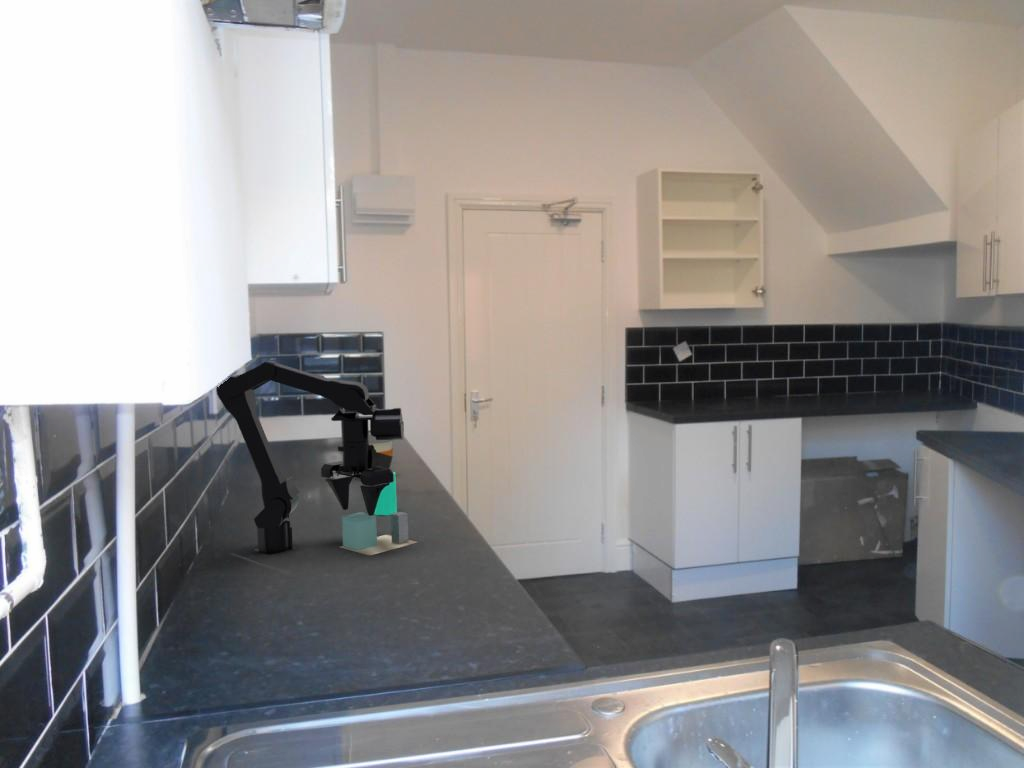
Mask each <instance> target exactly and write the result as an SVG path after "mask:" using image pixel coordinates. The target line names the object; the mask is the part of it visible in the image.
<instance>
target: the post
mask: <svg viewBox="0 0 1024 768" xmlns="http://www.w3.org/2000/svg"><path fill="white" fill-rule="evenodd" d="M408 519H409V517H408V513H407V512H402V511H397V513H392V514H391V515H390V526H391V527H390V529H391V535H390V536H392V543H395V544H399V545H400V544H403V543H407V542H409V540H410V539H409V521H408Z"/></svg>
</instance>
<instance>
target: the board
mask: <svg viewBox="0 0 1024 768" xmlns="http://www.w3.org/2000/svg"><path fill="white" fill-rule="evenodd" d="M416 543H418V541H414V540H411V539H409V542H407V543H403V544H400V545H399V544H395V543H392V535H390V534H383V535H380V536H377V545H376V546H373V547H369V548H365V549H361V550H358V551H357V550H354V549H350V548H346V547H343V545H341V546H339V548H341V549H345V550H349V551H352V552H355V553H359V554H363V555H366V556H373V555H377V554H381V553H385V552H388V551H392V550H396V549H399V548H403V547H407V546H410V545H413V544H416Z"/></svg>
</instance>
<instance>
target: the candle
mask: <svg viewBox="0 0 1024 768" xmlns="http://www.w3.org/2000/svg"><path fill="white" fill-rule="evenodd" d="M393 473H394V482H390V484H389V486H386V487H385V488H384V489H383V490H382V491H381V494H380V496H379V499H378V502H377V506H376V509H375V512H374V514H375V515H376V516H378V515H386V516H391V514H392V513H397V512H398V506H397V505H398V502H397V498H398V497H397V477H396V472H395V471H393Z"/></svg>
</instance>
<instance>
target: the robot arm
mask: <svg viewBox="0 0 1024 768" xmlns="http://www.w3.org/2000/svg"><path fill="white" fill-rule="evenodd" d="M230 376H231V377H230ZM230 376H229V377H230V378H229V379H228V380H227V381H225V382H224V383H223V384H221V385H220V386H219V387H217V386H216V395H217V398H218V399H219V401H220V402H221V404H222V405H223V407H224V408H225V409H226V411H227V412H228V413H229V414H230V415H231V416H232V418H233V419H234V420H235V422H236V423H237V425H238V429H239V430H240V433H241V436H242V438H243V441H244V443H245V445H246V448H247V450H248V452H249V455H250V457H251V458H250V459H251V461H252V463H253V465H254V467H255V469H256V472H257V475H258V477H259V479H260V483H261V486H260V487H261V498H262V502H263V507H264V508H263V509H262V510H261V511H260V512H259V513H258V514H257V515H256V516H255V517H254V518H253V521H254V523H255V525H256V533H257V535H256V536H257V548H254V551H256V552H259V553H262V554H265V555H269V556H270V555H274V554H278V553H282V552H285V551H286V552H287V551H292V550H294V549H296V547H294V546H293V545H294V543H293V542H294V538H293V527H291V521H290V520H288V519H290V516H291V514H292V512H293V511H295V509H296V508H297V506H298V505H299V503H300V500H299V499H300V498H299V495H300V494H301V492H300V491H299V490H298V488H297V486H296V483H295V479H294V477H293V476H290V477H289V478H287V477H285V475H284V474H283V473H282V472H281V469H280V466H279V464H278V462H277V460H276V457H275V454H274V453H273V450H272V447H271V446H270V443H269V440H268V438H267V436H266V433H265V430H264V428H263V426H262V423H261V421H260V418H259V415H258V414H257V405H256V403H257V402H256V394H255V390H256V389H259V388H260V387H262V386H264V385H265V384H268V383H269V382H275V383H279V384H281V385H283V386H288V387H291V388H294V389H299V390H302V391H304V392H308V393H311V394H314V395H318V396H321V397H323V398H325V400H327V401H329V402H331V403H332V404H335V405H337V406H339V407H341V408H339V409H338V410H337V411H336V413H335V414H334V415H333V416H331V421H332V422H340V425H341V426H340V427H341V445H338V446H337V451H338V452H341V454H342V456H341V457H342V460H339V461H335V462H327V463H324V464H323V465H322V466H321V468H320V473H321V475H320V476H321V478H324V481H325V482H326V483H327V484H328V487H330V489H331V491H332V492H333V494H334V495H335V497H336V500H337V501H338V503H339V505H340V508H341V509H342V510H343V511H348V509H349V501H350V484H351V482H352V481H353V479H354V478H357V479H358V478H359V479H360V482H361V485H360V486H359V488H360V491H361V495H362V497H363V498H362V499H363V503H364V505H365V508H366V513H368V515H369V516H372V515H374V512H375V509H376V506H377V502H378V499H379V496H380V494H381V491H382V490H383V489H384V488H385V487H386V486H389V484H390V482H394V473H393V472H394V471H393V470H392V469H391V465H392V463H391V461H392V462H393V455H392V456H389V455H385V454H382V453H378V452H376V449H374V446H373V445H371V444H369V430H370V432H371V436H373V437H376V440H393V441H395V440H396V441H397V440H398V441H399V440H400V441H401V440H402V441H403V440H404V435H405V423H404V419H403V414H402V408H401V407H394V408H385V409H383V408H378V406H377V405H376V404H375V402H374V401H373V400H372V399H371V398H370V397H369V396H370V394H369V390H368V388H367V386H366V385H365V384H364V383H362V382H359V381H353V380H345V379H344V380H343V379H333V378H327V377H324V376H321V375H317V374H314V373H310V372H307V371H304V370H300V369H297V368H294V367H290V366H288V365H285V364H281V363H279V362H277V361H275V360H269V361H264V362H262V363H261V364H259V365H258V366H255V367H254V368H251V369H250V370H248V371H245V372H243V373H241V374H237V375H230ZM343 409H344V410H346V411H344V410H343ZM351 411H352V412H351ZM360 414H361V415H360ZM369 423H370V424H369ZM369 427H370V428H369ZM360 473H361V474H360Z"/></svg>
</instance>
